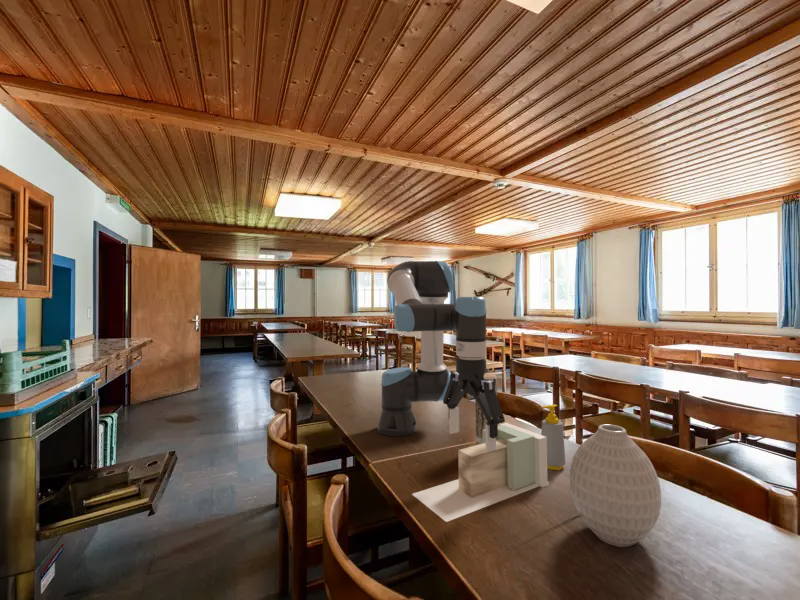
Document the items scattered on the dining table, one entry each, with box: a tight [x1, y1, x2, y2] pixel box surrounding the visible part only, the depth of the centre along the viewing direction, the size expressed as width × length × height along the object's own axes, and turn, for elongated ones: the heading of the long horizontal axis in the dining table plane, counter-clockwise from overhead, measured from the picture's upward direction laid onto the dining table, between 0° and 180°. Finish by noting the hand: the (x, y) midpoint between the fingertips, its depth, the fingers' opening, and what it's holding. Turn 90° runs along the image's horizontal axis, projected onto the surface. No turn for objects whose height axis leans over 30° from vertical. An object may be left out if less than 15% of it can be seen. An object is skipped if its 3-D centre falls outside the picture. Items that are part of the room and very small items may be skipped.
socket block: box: [482, 425, 535, 490], centre depth 100 cm, size 11×8×12 cm
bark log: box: [474, 373, 498, 445], centre depth 119 cm, size 7×7×25 cm
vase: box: [569, 423, 662, 548], centre depth 76 cm, size 16×16×22 cm
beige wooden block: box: [457, 439, 508, 498], centre depth 96 cm, size 5×15×10 cm, turn 121°
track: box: [411, 422, 550, 523], centre depth 95 cm, size 14×34×13 cm, turn 121°
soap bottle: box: [540, 403, 566, 471], centre depth 109 cm, size 7×7×18 cm
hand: (471, 440), depth 94 cm, fingers open, 13 cm apart
